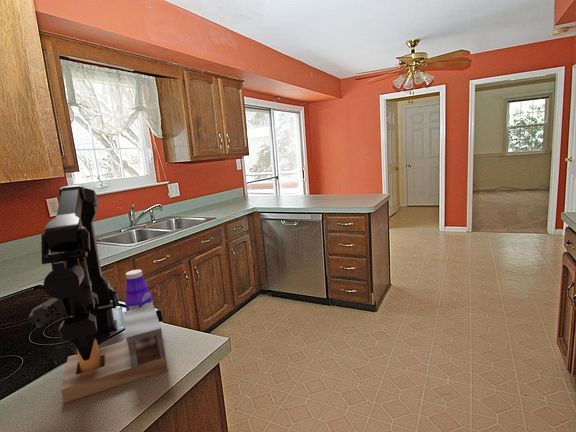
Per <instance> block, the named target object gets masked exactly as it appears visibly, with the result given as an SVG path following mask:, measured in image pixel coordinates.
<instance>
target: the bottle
mask: <svg viewBox="0 0 576 432" xmlns="http://www.w3.org/2000/svg"><path fill="white" fill-rule="evenodd" d="M125 278H126V279H125V280H126V285H125V289H124V291H125V292H126V296H125V299H124V304H125V309H126V311H130V310H134V309H138V308H142V307H146V306H150V305H154V302H153V297H152V293H151V290H150V289H149V288H148V286H149V285H148V283H147V282H146V281H145V279H144V275H143V271H142V269H133V270H130V271H127V272H126V273H125Z"/></svg>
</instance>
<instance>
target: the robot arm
mask: <svg viewBox="0 0 576 432" xmlns="http://www.w3.org/2000/svg"><path fill="white" fill-rule="evenodd" d="M58 192H59V193H58V194H57V199H58V207H57V211H56V215H55V217H54V218H53V219H51V220H50V221H48V222H47V223H46V225H45V228H44V231H43V232H42V233H41V238H40V239H41V242H40V243H41V244H40V245H41V264H42V265H47V264H51V271H50V272H49V273H48V274H47V275H46V276H45V278H44V280H43V290H44V291H45V293H46V294H47V295H48V296H49V297H52V298H50V299H48V300H46V301H45V302H43V303H41V304H39V305H36V306H35V307H33V309H31V312H30V313H29V315H28V316H29V318H30V319H31V321H30V322H31V324H32V325H36V327H37V328H42V327H44V326H45V325H46V324H47V323H49V322H51V321H53V320H54V319H57V318H58V317H59V316H60V319H63V321H62V322H60V324H59V329H58V336H59V341H61V342H62V341H63V342H69V343H72V344H73V345H74V346H75V349H76V348H77V349H76V351H77V350H78V352H79V353H80V355H81V357H82V359H83V360H84V361H86V360H89V359H90V355H91V351H92V347H93V343H94V339H96V336H99V335H102V334H105V333H110V332H113V331H117V329H118V326H117V323H118V322H117V319H115V318H114V312H113V309H117V307H118V306H120V303H119V298H118V294H117V291H115V290H114V288H113V287H111V283H110V280H109V279H108V278H107V277H106V276H105V275H104V274H103V273H102V268H101V267H102V266H101V262H100V255H99V251H98V245H97V238H96V234H95V227H94V220H95V218H96V216H97V214H98V208H99V206H100V205H99V198H98V194H97V192H96V191H95V190H94V189H92V188H91V189H90V188H86V187H84V185H80V184H77V185H75V184H74V185H66V186H62V187H60V188H59V189H58ZM67 317H68V318H67Z"/></svg>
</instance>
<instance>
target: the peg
mask: <svg viewBox="0 0 576 432" xmlns="http://www.w3.org/2000/svg"><path fill="white" fill-rule="evenodd" d="M98 348H99V345H98V339H96V338H95V339H94V343H93V347H92V351H91V355H90V359H89V360H86V361H84V360H83V359H82V357H81V355H80V353H79V352H78V350H77V348H76V347H75V349H76V353H77V354H78V359H79V363H80V368H81V373H84V372H87V371H90V370H94V369H97V368H100V367H102V365H101V360H100V355H99V350H98Z"/></svg>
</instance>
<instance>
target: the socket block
mask: <svg viewBox="0 0 576 432" xmlns="http://www.w3.org/2000/svg"><path fill="white" fill-rule="evenodd" d="M123 320H124V321H123V322H124V330H125V338H126V339H125V340H123V341H119V342H116V343H113V344H109V345H105V346H102V347H98V350H99V355H100V360H101V365H102V367H100V368H97V369H94V370H90V371H87V372H84V373H81V368H80V363H79V359H78V354H74V355H68V356H67V359H66V364H65V365H66V366H65V369H64V373H63V378H62V384H61V388H60V391H61V396H62V400H63V404H66V403H69V402H72V401H75V400H78V399H81V398H85V397H88V396H90V395H93V394H97V393H100V392H102V391H105V390H109V389H112V388H115V387H118V386H121V385H124V384H128V383H130V382H133V381H136V380H140V379H143V378H146V377H149V376H152V375H154V374H158V373H160V372H164V371H168V370H169V369H168V363H167V358H166V350H165V344H164V338H163V331H162V327H161V323H160V320H159V317H158V315H157V312H156V308H155V305H154V304H153V305H150V306H146V307H142V308H138V309H134V310H130V311H127V310H126V311H123Z"/></svg>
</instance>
